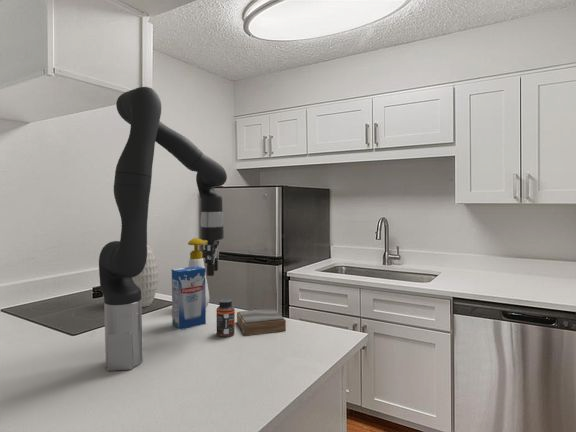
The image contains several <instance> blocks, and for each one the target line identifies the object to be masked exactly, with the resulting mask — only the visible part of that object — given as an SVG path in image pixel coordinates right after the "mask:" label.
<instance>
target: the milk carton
mask: <svg viewBox="0 0 576 432" xmlns="http://www.w3.org/2000/svg"><path fill="white" fill-rule="evenodd" d="M205 273H206V267H205V268H202V267H198V266H195V267H188V266H187V267H181V268H180V267H179V268H172V269H171V303H172V304H171V314H172V316H171V317H172V320H171V321H172V323H171V324H172V327H175V328H177V330H180V331H181V330H185V329H188V328H192V327H193V328H194V327H197V326H201V325H206V324H207V320H206V319H207V318H206V316H207V315H206V311H207V310H206V309H207V308H206V300H205Z"/></svg>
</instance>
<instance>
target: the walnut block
mask: <svg viewBox="0 0 576 432" xmlns="http://www.w3.org/2000/svg"><path fill="white" fill-rule="evenodd" d="M286 322H287V321H286V319H285V318H284V317H283V316H282V315H281V314H280V312H278V311H277V310H276V309H275V308H271V307H270V308H262V309H260V308H259V309H253V310H252V309H251V310H243V311H238V312H236V323H237V325H238V326H239V328H240V329H242V330H241V331H242V333H243V332H244V333H243V335H244V336H251V335H250V334H253V335H261V334H269V333H276V332H285V331H286V329H287V327H286V326H287V325H286V324H287V323H286Z"/></svg>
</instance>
